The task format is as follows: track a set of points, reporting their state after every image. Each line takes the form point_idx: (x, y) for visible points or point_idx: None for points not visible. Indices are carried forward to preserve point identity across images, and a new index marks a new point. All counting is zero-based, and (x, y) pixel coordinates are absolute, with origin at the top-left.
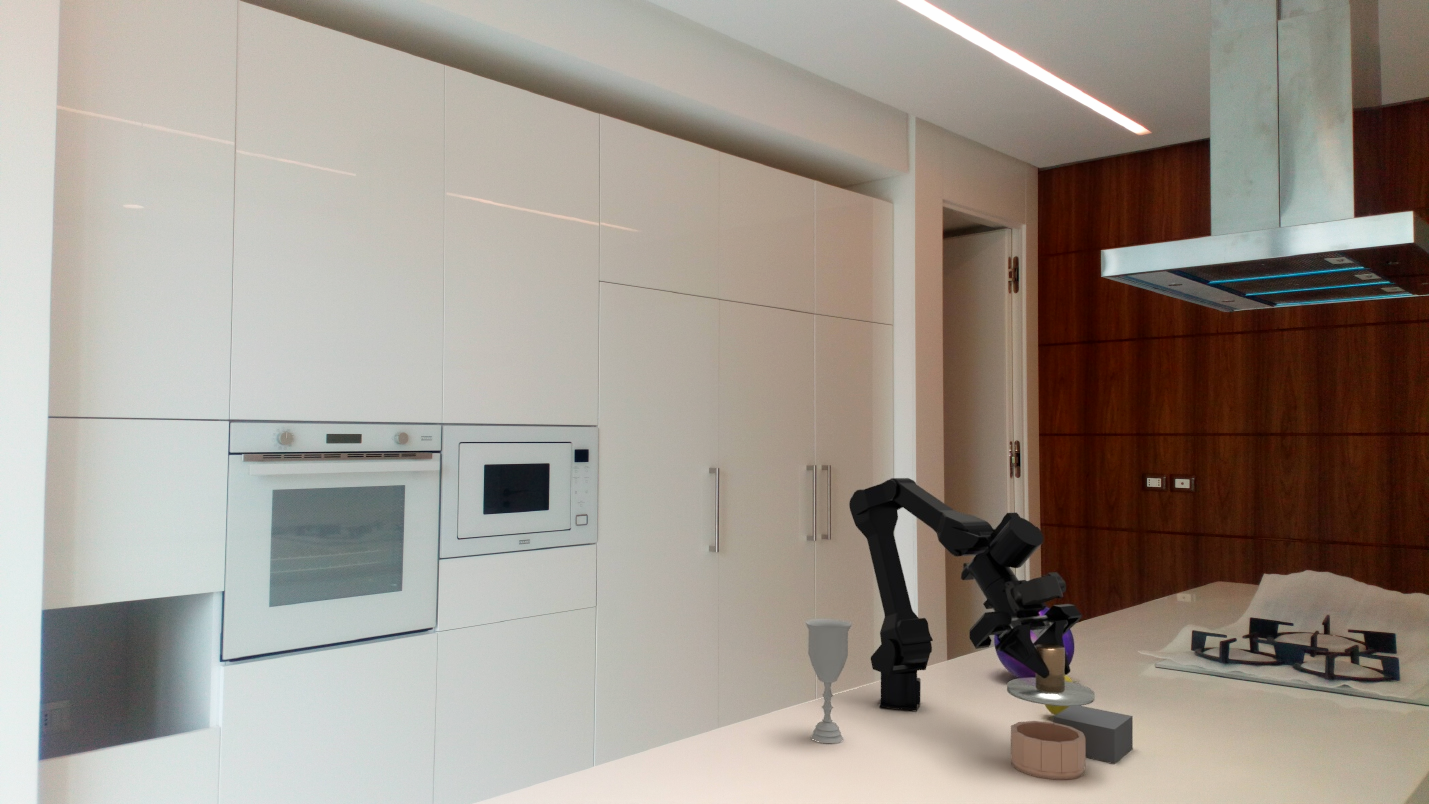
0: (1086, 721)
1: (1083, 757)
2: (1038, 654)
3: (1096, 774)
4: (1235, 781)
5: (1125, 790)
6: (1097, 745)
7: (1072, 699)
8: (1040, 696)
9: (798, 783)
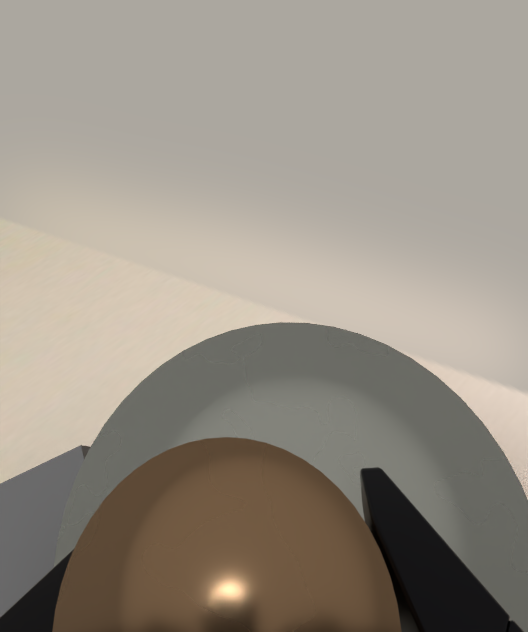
0: None
1: None
2: (428, 596)
3: None
4: (15, 279)
5: (258, 316)
6: None
7: (322, 340)
8: (455, 436)
9: None
